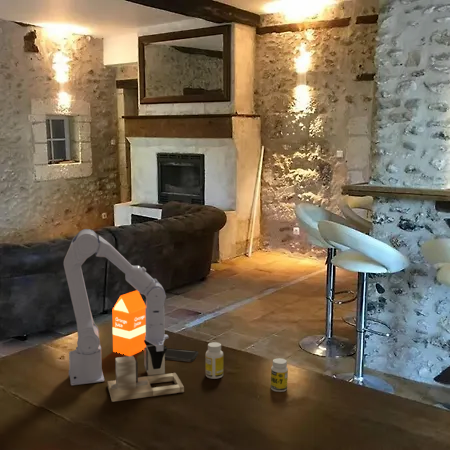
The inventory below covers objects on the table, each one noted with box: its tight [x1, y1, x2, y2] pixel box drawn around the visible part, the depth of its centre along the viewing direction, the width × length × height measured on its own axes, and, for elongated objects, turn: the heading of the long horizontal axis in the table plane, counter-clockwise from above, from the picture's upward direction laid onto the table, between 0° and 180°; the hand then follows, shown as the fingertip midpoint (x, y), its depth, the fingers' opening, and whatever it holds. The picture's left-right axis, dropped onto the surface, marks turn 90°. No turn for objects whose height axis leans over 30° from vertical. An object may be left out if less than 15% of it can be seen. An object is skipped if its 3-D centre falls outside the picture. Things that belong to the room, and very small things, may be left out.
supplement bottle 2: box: [270, 357, 289, 393], centre depth 155 cm, size 5×5×8 cm
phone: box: [165, 347, 199, 363], centre depth 180 cm, size 8×1×15 cm
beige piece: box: [107, 355, 185, 402], centre depth 154 cm, size 20×10×10 cm, turn 109°
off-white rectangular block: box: [143, 345, 166, 376], centre depth 166 cm, size 6×4×8 cm
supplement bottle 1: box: [205, 341, 224, 380], centre depth 164 cm, size 5×5×10 cm
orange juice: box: [111, 289, 146, 357], centre depth 183 cm, size 8×9×20 cm
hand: (155, 365), depth 166 cm, fingers closed on off-white rectangular block, 4 cm apart
